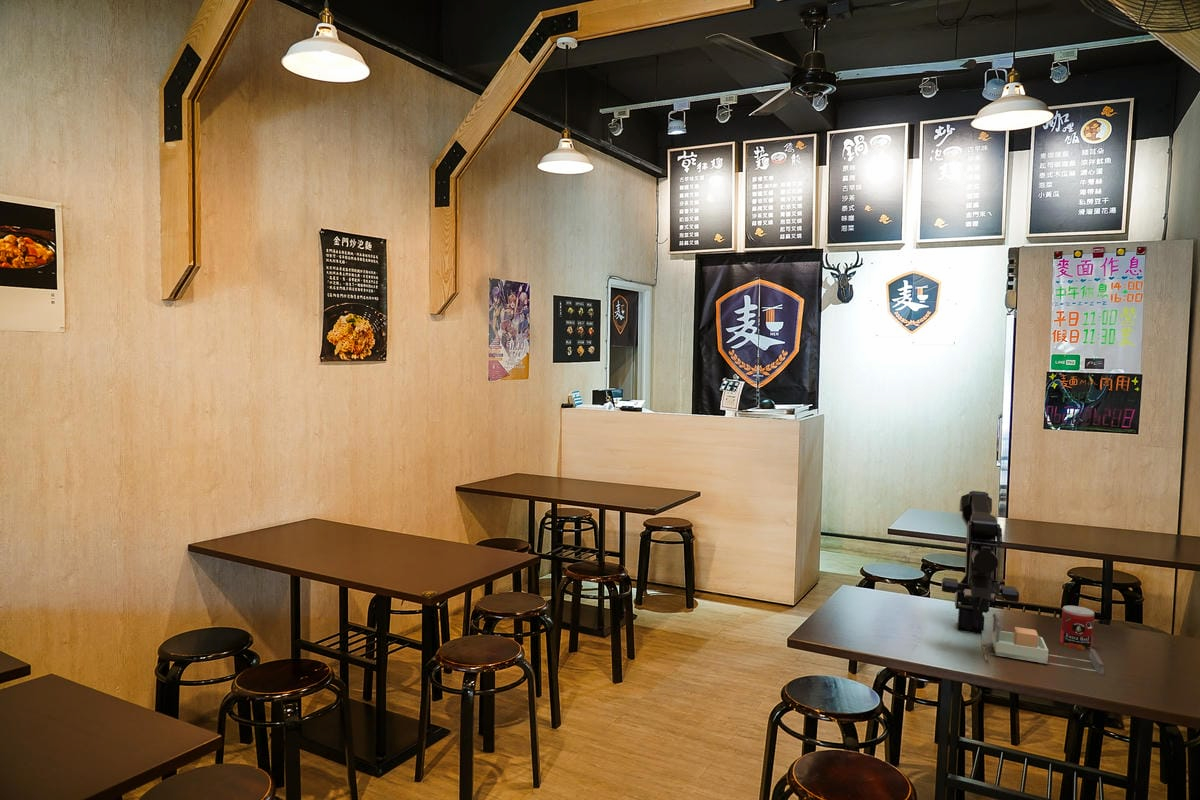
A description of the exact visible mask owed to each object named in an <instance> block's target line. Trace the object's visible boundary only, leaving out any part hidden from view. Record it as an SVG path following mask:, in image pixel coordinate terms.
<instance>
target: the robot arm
mask: <svg viewBox="0 0 1200 800" xmlns="http://www.w3.org/2000/svg"><path fill="white" fill-rule="evenodd" d="M992 510H993V499H992V497H990V496H989V492H986V491H980V490H978V491H977V490H971V491H969V493H968V494H967V493H966V494H964V495H962V496H961V497H960V499H959V512H960V513H961V519H962V521H963V522H964V525H965V526H966V541H965V543H966V545H965V546H966V547H965V568H964V569H965V570H964V571H965V572H964V576H963V578H962V579H961V580H960V582H959V581H958V580H959V579H957V578H950V577H943V578H942V579H941V592H943V593H950V594H955V596H954V607H955V609H956V610H958V614H957V623H956V628H957V631H960V632H966V633H971V634H979V635H983V632H982V631H984V630H985V629H984V628H985V615H984V613H985V614H988V612H990V605H991V602H995V596H1001V597H1002V599H1004V601H1006V602H1014V603H1019V602H1020V592H1019V589H1018V588H1017V587H1016V586H1011V585H1003V584H1001V581H1000V580H997V579H996V580H995V579H993V572H994V571H996V569H997V568H998V565H999V560H998V558H997V556H996V554H995V551H994V550H995V548H997V549H998V548H999V549H1000V548H1001V545H1003V532H1002V531H1003V528H1001V524H999V523H998V520H997V518H996V516H995V515H992Z"/></svg>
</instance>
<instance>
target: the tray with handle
mask: <svg viewBox="0 0 1200 800" xmlns="http://www.w3.org/2000/svg"><path fill="white" fill-rule="evenodd" d="M992 618H993V619H992V620H993V623H992V639H991V643H992V645H993V646H992V647H993V651H994V654H995V655H994V656H997V657H1000V658H1004V657H1005V658H1011V659H1016V660H1021V661H1029V662H1034V663H1038V664H1041V665H1042V664H1047V662H1048V661H1049V660H1048V659H1049V655H1048V654H1049V648H1048V647H1047V644H1046V643H1045V640H1044V638H1043V637H1042V636H1038V647H1037V648H1033V647H1027V646H1020V645H1014V632H1011V631H1002V630H1001V629H1002V625H1001V622H1000V618H999V616H998V614H997V613H995V612H994V613H993V614H992ZM1048 663H1049V662H1048ZM1047 665H1048V664H1047Z"/></svg>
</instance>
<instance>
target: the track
mask: <svg viewBox="0 0 1200 800" xmlns="http://www.w3.org/2000/svg"><path fill="white" fill-rule="evenodd" d="M980 643H981V647H982V652H983V657H984V661H985V663H986V662H987V663H988V664H989V662H990V661H989V659H988V655H993V656H996V655H995V653H993V652H992V653H991V652H988V651H987V649H986V646H988V647H993V644H986V643H985V641H984V639H981V640H980ZM1050 656H1051V657H1054V658H1055V657H1056V658H1062V659H1067V660H1068V659H1069V660H1075V661H1081V662H1085V663H1087V662H1088V663H1091V664H1092V666H1093V668H1094V669H1091V668H1086V667H1085V668H1084V667H1078V666H1072V665H1066V664H1059V663H1054V662H1047V665H1048V664H1049V665H1054V666H1060V667H1066V668H1073V669H1078V670H1084V671H1091V672H1096V673H1097V675H1098V676H1104V672H1105V671H1104V670H1105V669H1104V668H1105V664H1104V662H1103V661H1102V659H1101V658H1100V656H1099V654H1098V653H1097V651H1096V649H1094V648H1091V649H1089V656H1088V658H1089V659H1088V660H1086V659H1081V658H1074V657H1069V656H1061V655H1056V654H1055V655H1054V654H1049V653H1048V657H1050Z"/></svg>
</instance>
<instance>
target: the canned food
mask: <svg viewBox="0 0 1200 800" xmlns="http://www.w3.org/2000/svg"><path fill="white" fill-rule="evenodd" d="M1061 611H1062V613H1061V625H1060V627H1061V628H1060V640H1059V641H1060V644H1062V645H1064V646H1065V647H1069V648H1071V649H1075V650H1076V649H1077V650H1083V651H1086V650H1090V649H1093V638H1094V627H1095V611H1094V610H1092V609H1090V608H1087V607H1083V606H1078V605H1077V606H1076V605H1064V606H1063V607H1062V610H1061Z"/></svg>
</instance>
